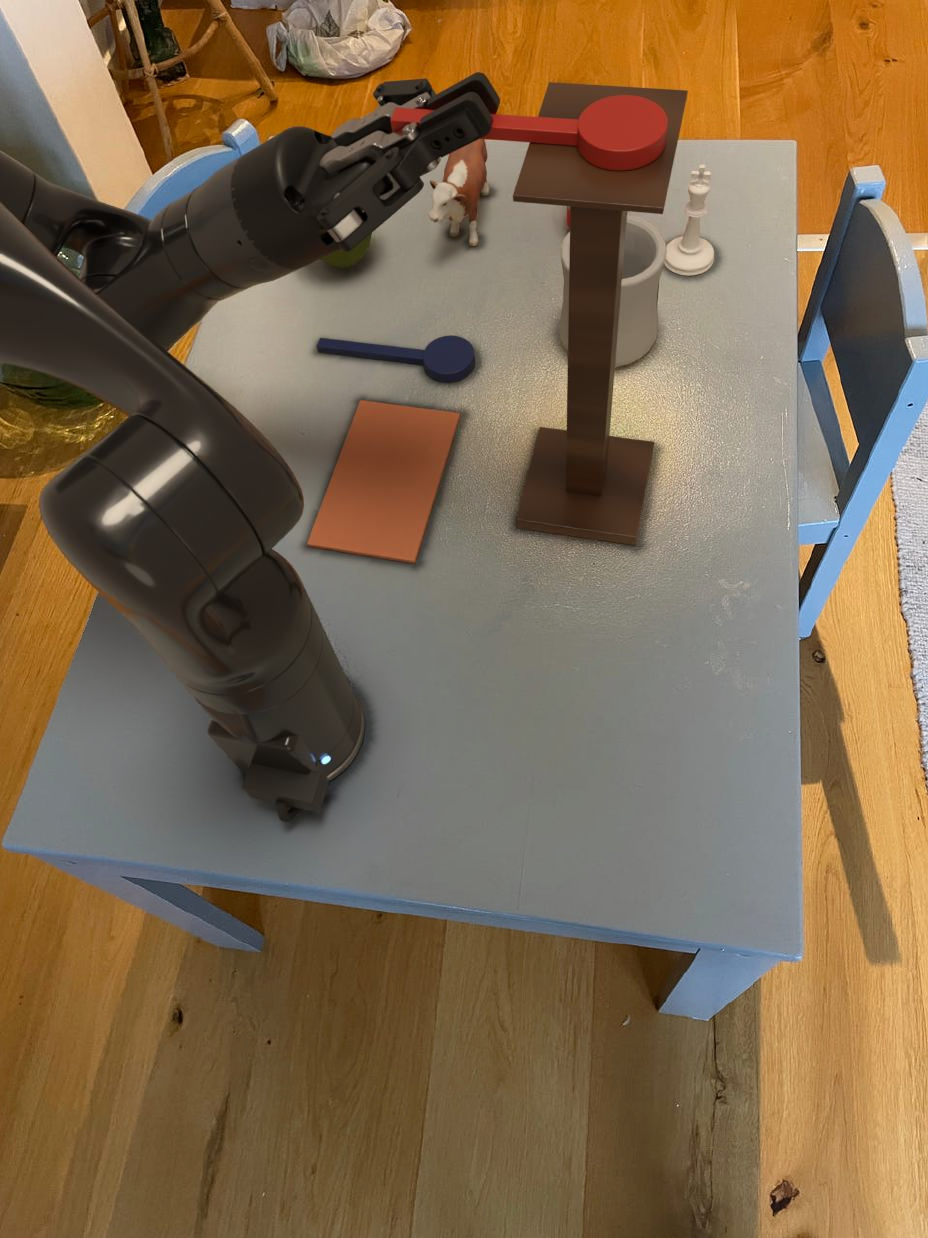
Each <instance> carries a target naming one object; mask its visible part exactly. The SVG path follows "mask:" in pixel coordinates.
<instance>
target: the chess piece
mask: <svg viewBox="0 0 928 1238" xmlns="http://www.w3.org/2000/svg"><path fill="white" fill-rule="evenodd" d="M705 169H706V164H700V165H699V170H691V175H690V179H693V180H691V181H690V182H689V183H688V185H687V191H688V194H689V201H688V202H686V204H685V205H684V207H683V211H684V214H685V215H686V216H688V219H687V223H686V226H685V230H684V233H683V235H681V236H678V237H676V238H674V239H672V240H671V241H669V243H666V250H667V253H666V257H665V261H664V266H665V267H666V268H667V270H669V271H670V272H671V273H672V272H673V273H674V274H677V275H680V276H686V277H687V276H689V277H690V276H697V275H700V274H703V273H705V272H707V271H708V270H709V269H711V267H712V266H713V264H714V262H715V249H714V247H713V246H712V244H711V243H710V242H709V241H708V240H706V239H704V238H703V237H700V235H701V234H700V233H701V231H700V230H701V228H700V227H701V218H702V217H705V216H706V215H707V213H708V205H707V204H706V203H705V200H706V198H707V196H708V195H709V193H710V191H711V183H710V182H709V181H707V180H711V176H712V171H707V170H705Z"/></svg>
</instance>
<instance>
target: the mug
mask: <svg viewBox="0 0 928 1238" xmlns="http://www.w3.org/2000/svg"><path fill="white" fill-rule="evenodd" d="M666 246H667V242H666V240H665V238H664V237H663V234H662V232H661V231H660V230H658V228H657V227H656V226H655V225H653V224H652V223H650V222H648V221H646V220H645V219H643V218H641V217H638V216H634V215H631V214H627V222H626V234H625V247H624V260H623V272H622V285H621V297H620V310H619V322H618V335H617V347H616V360H615V368H618V367H621V366H626V365H631V364H632V363H634V362H636V361H638V360H640V359H641V358H643V356H645V355H646V354H647V353H648V352H650V351H651V348H652V347H653V345H654V344H655V342H656V339H657V335H658V331H659V313H658V299H659V291H660V290H659V289H660V279H661V277H662V272H663V268H664V266H665V264H664V261H665V257H666V253H667V250H666ZM569 257H570V231H569V232H568V233H567V234H566V236H565V237H564V238H563V241H562V243H561V247H560V261H561V269H562V276H563V297H562V305H561V311H560V315H559V323H558V324H559V325H558V329H559V331H558V332H559V338H560V341H561V343H562V345H563V348H564V349H565V350H566V352H568V316H569Z"/></svg>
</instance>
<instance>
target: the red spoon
mask: <svg viewBox="0 0 928 1238" xmlns="http://www.w3.org/2000/svg"><path fill="white" fill-rule="evenodd" d="M433 111H435V110H427V109H412V108H395V110H394V113H393V115H392V117H391V120H390V122H391V128H392V132H394V131H396V130H398V129H400V128H402V127H404V126H406V125H408V124H409V123H412V122H416V124H417V125H418V127H419V122H420V120H421V118H422V117H423V116H425V115H427V114H429V113H431V112H433ZM491 115H492V117H493V125H492V128H491V130H490V133H489V134H488V135H486V136H484V137H482V138H480V139H484V140H491V141H503V142H505V141H506V142H517V143H518V142H521V143H544V144H558V145H572V146H578V150H579V152H580V154H581V155H582V157H583V158H584V159H585V160H586V161H588V162H589V163H591V164H593V165H595V166H597V167H600V168H603V169H607V170H615V171H623V170H632V169H636V168H640V167H643V166H645V165H647V164H649V163H651V162H653V161H654V160H655V159H657V158H658V157H659V156H660V154H661V153H662V151H663V150H664V148H665V144H666V136H667V127H668V119H667V116H666V113H665V112H664V110H663V109H662V108H661V107H660V106H659V105H658V104H656V103H655V102H653V101H651V100H649V99H646V98H643V97H639V96H632V95H617V96H611V97H607V98H603V99H601V100H598V101H596V102H594V103H592V104H591V105H589V106H588V107H587V108H586V109H585V110H584V111H583V112H582V114H581V115H580V117H579V120H576V119H561V118H546V117H538V116H530V115H515V114H500V113H496V114H491ZM419 128H420V127H419Z"/></svg>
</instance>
